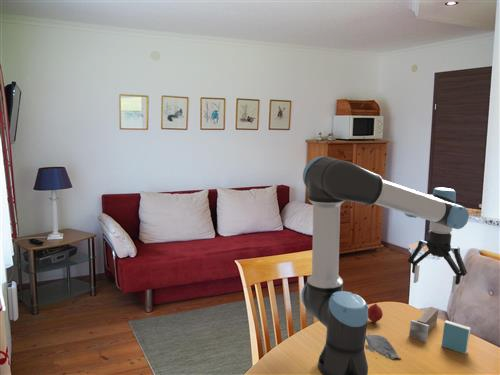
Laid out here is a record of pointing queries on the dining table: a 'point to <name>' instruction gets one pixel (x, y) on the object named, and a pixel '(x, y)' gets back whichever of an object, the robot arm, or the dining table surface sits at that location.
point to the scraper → (424, 324)
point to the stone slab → (381, 346)
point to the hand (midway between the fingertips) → (434, 287)
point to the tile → (456, 337)
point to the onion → (374, 313)
